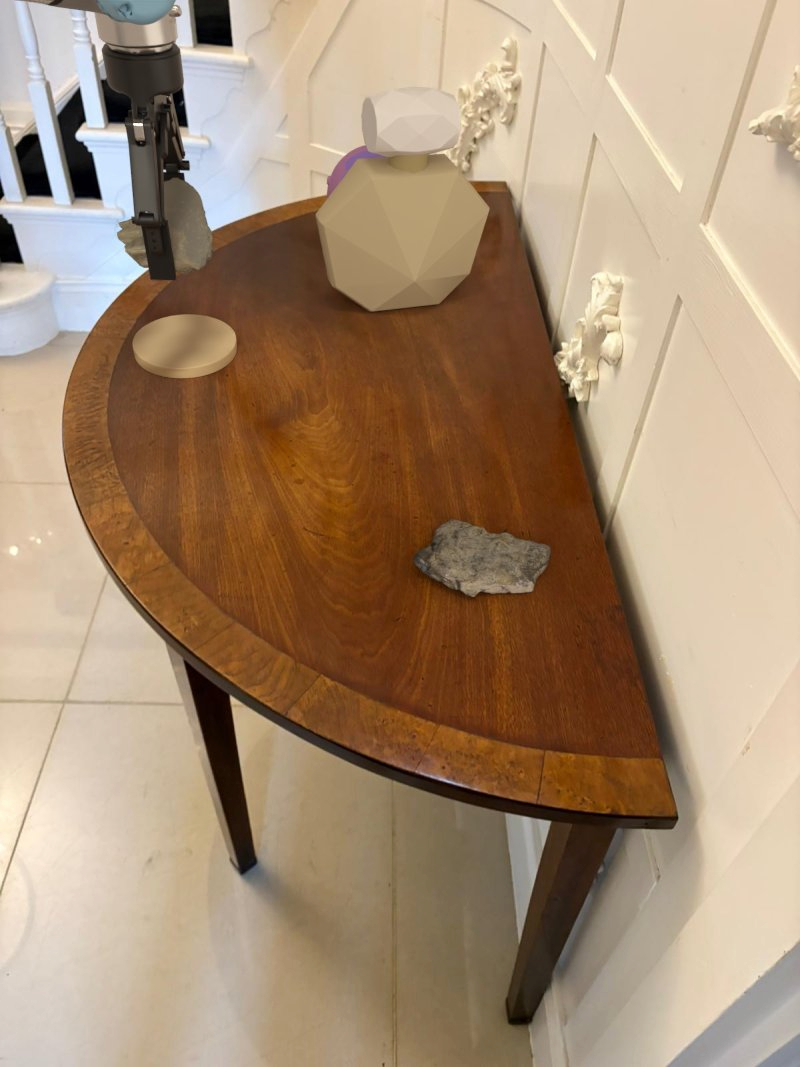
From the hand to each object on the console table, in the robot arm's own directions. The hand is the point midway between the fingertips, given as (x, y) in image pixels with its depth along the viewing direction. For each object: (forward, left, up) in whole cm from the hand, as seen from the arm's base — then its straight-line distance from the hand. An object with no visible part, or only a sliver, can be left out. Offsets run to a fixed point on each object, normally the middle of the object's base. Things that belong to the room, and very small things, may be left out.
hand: (171, 252), depth 93 cm
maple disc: (0, 0, -13) cm, 13 cm away
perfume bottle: (+28, +15, -13) cm, 35 cm away
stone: (+33, -38, -13) cm, 52 cm away
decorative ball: (+25, +32, -13) cm, 43 cm away
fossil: (0, -1, -2) cm, 2 cm away
